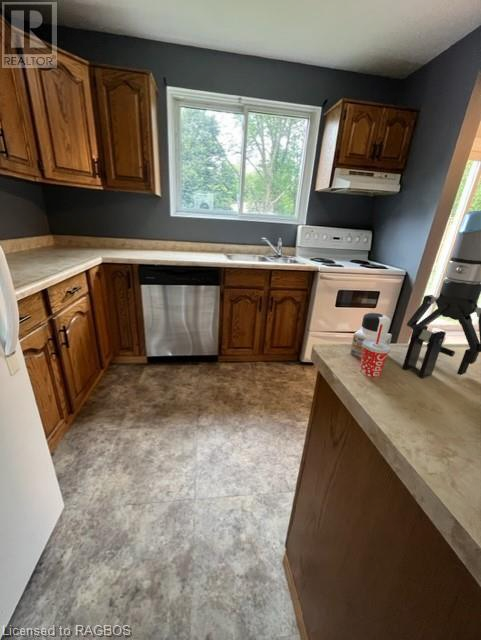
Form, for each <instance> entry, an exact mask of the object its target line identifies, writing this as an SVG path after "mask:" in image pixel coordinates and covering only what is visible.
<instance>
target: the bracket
mask: <svg viewBox="0 0 481 640" xmlns="http://www.w3.org/2000/svg"><path fill="white" fill-rule="evenodd" d="M428 328H429V326H428V325H427V326H425V325H423V326H419V327H415V328H414V329H412V332H413V333H412V332H411V335H412V336H411V335H410V338H411V340H409V343H408V347H407V351H406V353H405V357H404V360H403V364H402V368H401V370H403V371H404V372H407V371H410V370H412V369H415V368H416V367H417V364H418V361H419V357H420V354H421V350H422V348H423V344H424V342H423V341H421V340H420V339H419V336H420V334H421V333H422V331H423V329H425V330H428ZM446 334H447V332H446V331H442V330H440V331H436V332H433V334H431V337H430V341H429V344H428V343H427V344H428V347H427V346H426V351H425V353H424V356H423V358H422V359H423V360H422V363H421V366H420V369H419V372H418V375H417V378H418V379H420V380H422V379H425V378H428V377H430V376H432V375H433V372H434V369H435V367H436V363H437V361H438V357H439V354H440V353H441V352H440V349H441V346H442V347H443V342H444V340H445V337H446Z"/></svg>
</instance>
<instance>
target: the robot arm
mask: <svg viewBox="0 0 481 640" xmlns="http://www.w3.org/2000/svg"><path fill="white" fill-rule="evenodd" d="M444 276H445V279H444V280H443V281H442V284H441V287H440V291H439V294H438V296H434V295H433V294H428V295H427V294H426V295H425V296H423V299H422V302H421V304H420V305H419V306H418V308H417V309H416V311H415V312H414V313H413V315H411V317H410V318H409V320H408V321H407V323H406V326H407V327H408V328H410V329H412V330H413V329H414V328H415V327H419V326H423V325H425V326H428V325H430V324H431V323H433V322H434V321H435V320H436V319H438V318H439V317H441V316H442V317H444V318H449V319H452V320H454V321H458V324H459V325H460V326H461V328H462V331H463V334H464V336H465V339H466V342H467V344H468V346H469V347H468V348H467V349H465V351H464V354H463V357H462V358H461V361H460V364H459V367H458V369H457V372H456V375H459V376H461V375H464V374H466V373H467V371H468V368H469V365H473V364H475V362H477V359H478V356H479V354H480V353H481V307H478V301H479V298H480V297H481V210H471V211H468V212H466V214H465V215H464V217H463V219H462V221H461V223H460V226H459V229H458V230H457V236H456V240H455V243H454V247H453V250H452V253H451V257H450V260H449V263H448V266H447V268H446V272H445V275H444ZM434 303H435V304H436V309H435V310H434V311H432V312H431V313H430V314H429V315H427V316H426V317H425V318H423V319H422V320H421V318H422V317H423V316H424V315H425V314H426V313H427V311H428V310H429V309H430V307H431V306H432V305H433V304H434ZM474 313H476V317H477V318H478V333H479V334H477V332H476V329H475V327H474V325H473V318H472V317H471V316H472V314H474ZM419 321H420V322H419ZM412 333H413V331H411V335H410V338H409V339H410V340H411V336H412ZM478 335H479V337H478ZM410 340H409V341H410Z"/></svg>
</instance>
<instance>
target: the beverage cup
mask: <svg viewBox="0 0 481 640" xmlns="http://www.w3.org/2000/svg"><path fill="white" fill-rule="evenodd" d="M382 326H383V325H382V324H380V329H379V333H378V337H377V340H374V339H366V340H364V341H363V344H362V345H363V351H362V357H361V358H360V363H359V364H360V365H359V372H360V373H361V374H362V375H364V376H366V377H368V378H369V377H370V378H379V377H381V375H382V372H383V369H384V367H385V364H386V361H387V358H388V356H389V355H388V354H389V353H390V352H391V350H392V345H391V344H390V345H389V344H387V343H385V342H383V341H379V338H380V334H381V330H382Z"/></svg>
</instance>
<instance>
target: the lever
mask: <svg viewBox="0 0 481 640" xmlns="http://www.w3.org/2000/svg"><path fill="white" fill-rule="evenodd" d="M433 333H434V332H433V331H430V330H428V329H427V330H425V329H423V331H422V333H421V334H420V336H419V339H420V340H421V341H423V343H425V344H426V348H427V347H428V344H429V341H430V337H431V334H433ZM439 353H440V354H443V355H446V356H448V357H450V358H453V357H454V356H455V354H456V351H455V350H454V349H453V350H452V349H450V348H448V347H445V346H443V345H442V346H441V349H440V352H439Z"/></svg>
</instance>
